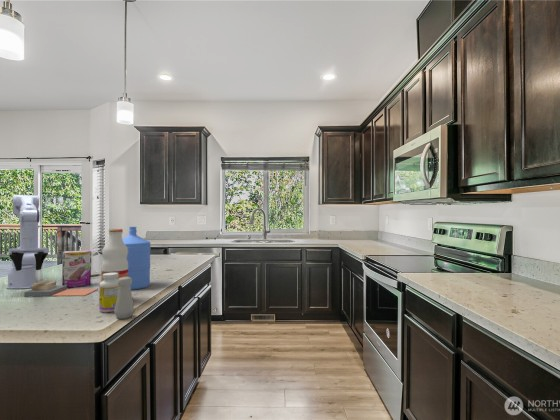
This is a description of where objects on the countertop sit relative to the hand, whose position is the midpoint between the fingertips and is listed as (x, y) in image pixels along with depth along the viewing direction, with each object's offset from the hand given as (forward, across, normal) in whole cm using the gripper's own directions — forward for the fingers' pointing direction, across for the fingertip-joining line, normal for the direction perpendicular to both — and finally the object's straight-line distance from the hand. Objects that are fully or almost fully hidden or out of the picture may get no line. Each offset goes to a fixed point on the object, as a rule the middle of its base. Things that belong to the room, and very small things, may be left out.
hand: (28, 270), depth 131 cm
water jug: (+10, +39, +9) cm, 41 cm away
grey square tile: (+10, +7, 0) cm, 12 cm away
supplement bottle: (+11, +43, -27) cm, 52 cm away
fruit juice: (+11, +40, -14) cm, 43 cm away
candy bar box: (+10, +13, +12) cm, 21 cm away
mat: (+10, +19, 0) cm, 22 cm away
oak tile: (+8, +6, 0) cm, 10 cm away
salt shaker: (+11, +51, -36) cm, 63 cm away
